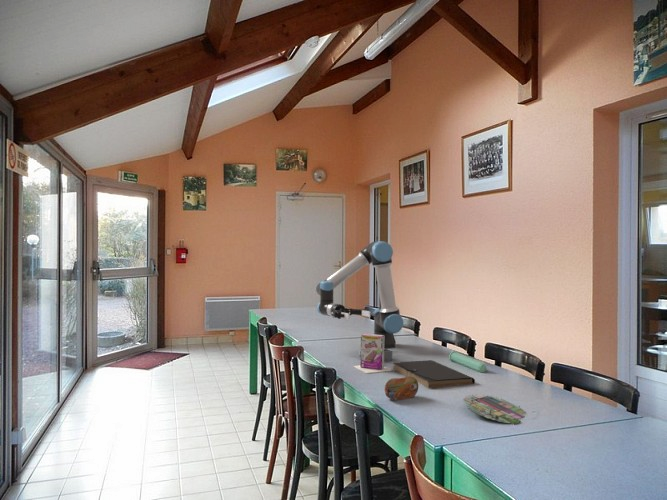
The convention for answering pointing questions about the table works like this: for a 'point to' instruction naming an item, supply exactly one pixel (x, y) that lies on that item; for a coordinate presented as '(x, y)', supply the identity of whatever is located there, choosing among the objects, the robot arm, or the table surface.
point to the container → (467, 361)
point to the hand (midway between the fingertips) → (359, 315)
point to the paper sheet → (368, 370)
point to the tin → (401, 388)
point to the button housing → (387, 355)
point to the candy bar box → (372, 351)
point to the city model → (494, 408)
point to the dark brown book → (432, 374)
